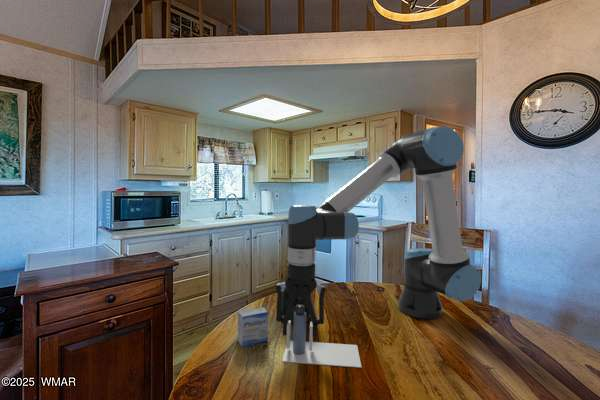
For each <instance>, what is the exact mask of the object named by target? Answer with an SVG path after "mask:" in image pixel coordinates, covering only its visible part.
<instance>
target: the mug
mask: <svg viewBox="0 0 600 400" xmlns="http://www.w3.org/2000/svg"><path fill="white" fill-rule="evenodd" d="M286 280H287V278H284V279H283V280H282V281H281V282H280V283H284V282H286ZM290 297H291V293H290V292H289V290H288V289H287V287H285V290H284V291H283V305H282V315H283V316H285V313H286V310H287V306H288V303H289V300H290ZM296 305H304V306H305V312H306V322H308V320H309V319H311V316H310V313H309V309H308V305H307V302H306V298H302V297H298V298H295V299H294V302H293V305H292V309H291V312H290V315H289V318H288V320H290V321H291V324H294V312H296Z"/></svg>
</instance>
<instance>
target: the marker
mask: <svg viewBox="0 0 600 400" xmlns="http://www.w3.org/2000/svg"><path fill="white" fill-rule="evenodd" d="M292 328H293V330H292V331H293V332H292V333H293V334H292V335H293V338H292V339H293V340H292V341H293V353H295V354H297V355H302V354H304V353H305V351H306V342H307V321H306V312H305V306H304V305H296V312H294V323H293V327H292Z"/></svg>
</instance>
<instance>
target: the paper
mask: <svg viewBox="0 0 600 400" xmlns="http://www.w3.org/2000/svg"><path fill="white" fill-rule="evenodd" d="M282 363H292V364H305V365H306V364H307V365H319V366H333V367H334V366H336V367H347V368H359V369H362V368H363V367H362V363H361V357H360V353H359V348H358V345H357V344H349V343H347V344H345V343H335V342H334V343H332V342H318V341H313V345H312V351H311V350H309V341H306V351H305V353H304V354H302V355H297V354H295V353H293V340H290V348H289V349H286V347H285V349H284V353H283V356H282Z"/></svg>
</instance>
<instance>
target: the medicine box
mask: <svg viewBox="0 0 600 400" xmlns="http://www.w3.org/2000/svg"><path fill="white" fill-rule="evenodd" d="M268 340H269V312H268V311H267V309H266V308H265V307H264V306H262V307H257V308H251V309H246V310H240V311H237V341H238V343H239V345H240V346H241V348H245V347H249V346H253V345H257V344H261V343H264V342H268Z"/></svg>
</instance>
